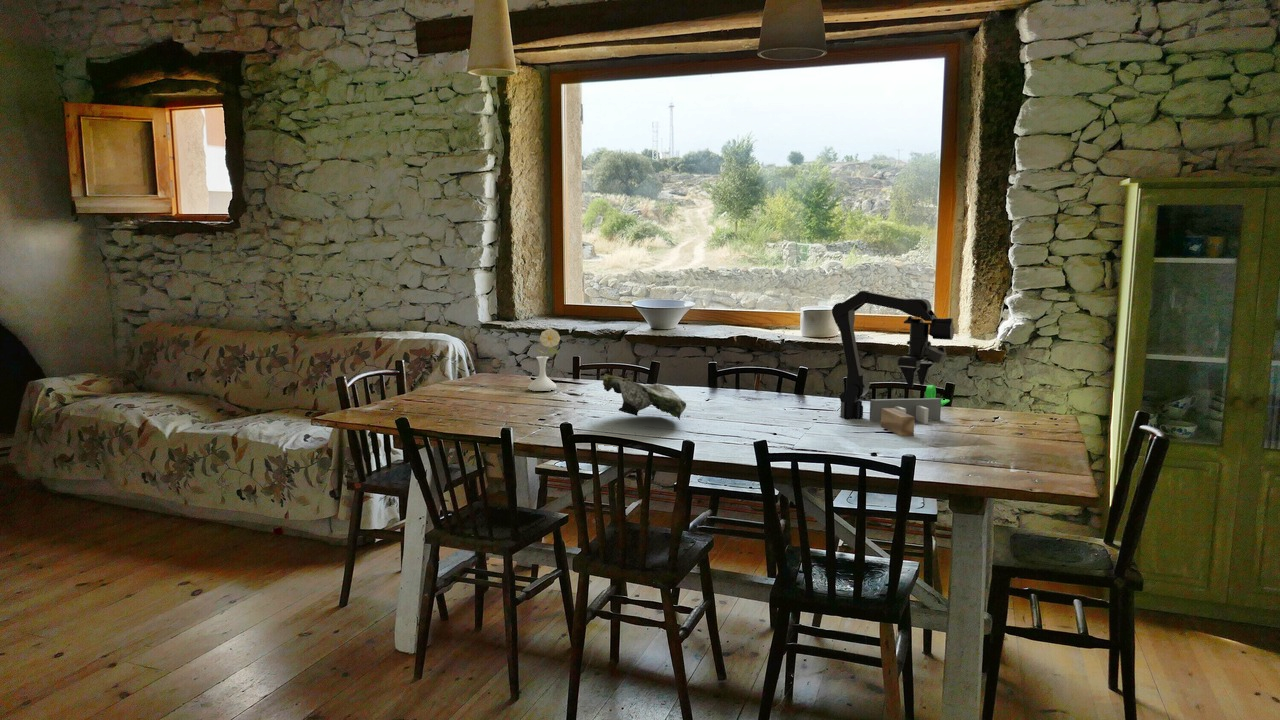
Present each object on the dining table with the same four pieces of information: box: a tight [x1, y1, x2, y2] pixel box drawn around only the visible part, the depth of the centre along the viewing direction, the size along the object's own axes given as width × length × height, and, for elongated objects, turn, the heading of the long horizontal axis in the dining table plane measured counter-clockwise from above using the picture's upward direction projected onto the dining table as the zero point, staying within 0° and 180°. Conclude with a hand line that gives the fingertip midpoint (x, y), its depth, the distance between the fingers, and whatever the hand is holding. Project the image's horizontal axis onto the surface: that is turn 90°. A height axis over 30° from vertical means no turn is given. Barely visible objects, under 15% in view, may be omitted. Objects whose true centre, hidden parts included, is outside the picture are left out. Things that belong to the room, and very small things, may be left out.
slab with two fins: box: [869, 397, 942, 425], centre depth 284 cm, size 24×8×7 cm, turn 99°
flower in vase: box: [527, 328, 561, 392], centre depth 342 cm, size 13×11×25 cm
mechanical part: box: [924, 384, 951, 407], centre depth 317 cm, size 12×6×8 cm, turn 144°
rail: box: [880, 408, 915, 437], centre depth 269 cm, size 4×16×6 cm, turn 6°
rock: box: [602, 373, 687, 421], centre depth 286 cm, size 29×30×15 cm
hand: (916, 386), depth 280 cm, fingers open, 9 cm apart
